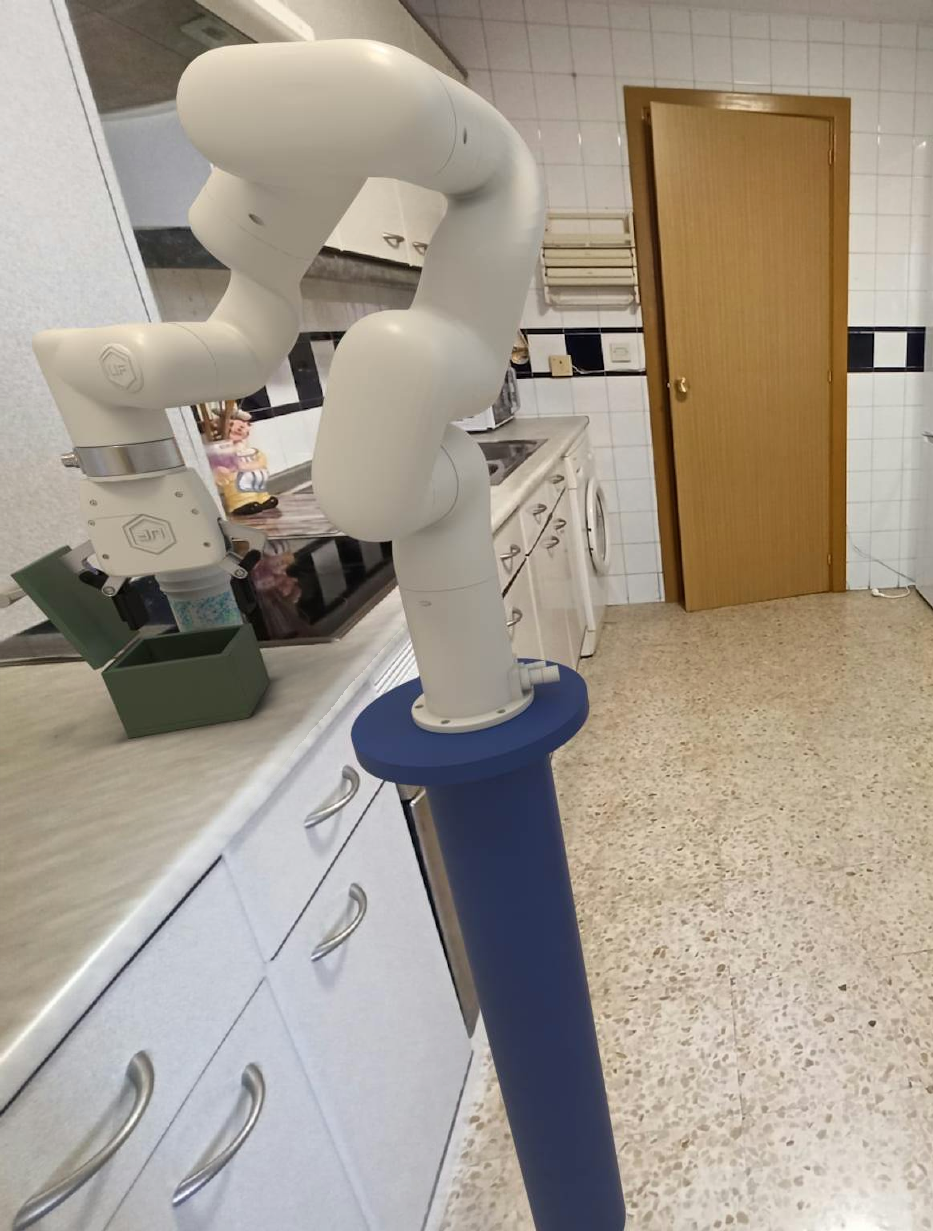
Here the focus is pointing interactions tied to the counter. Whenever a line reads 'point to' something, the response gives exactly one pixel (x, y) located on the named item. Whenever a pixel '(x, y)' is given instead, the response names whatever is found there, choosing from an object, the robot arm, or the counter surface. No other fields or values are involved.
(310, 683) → the counter surface
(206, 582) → the bottle
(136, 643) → the bin
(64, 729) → the counter surface
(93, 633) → the bin lid
